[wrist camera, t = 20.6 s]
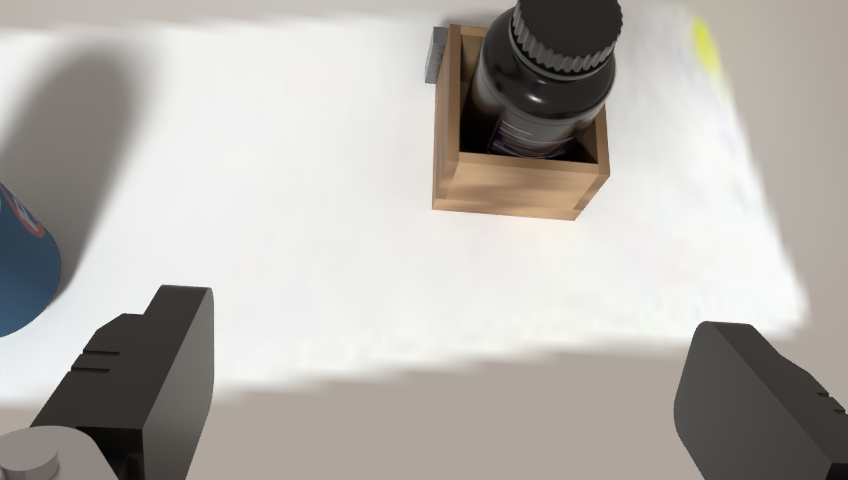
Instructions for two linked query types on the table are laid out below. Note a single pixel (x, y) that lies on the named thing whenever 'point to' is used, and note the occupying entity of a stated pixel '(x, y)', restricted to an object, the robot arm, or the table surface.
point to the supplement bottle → (541, 78)
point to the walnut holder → (503, 175)
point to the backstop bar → (435, 54)
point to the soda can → (24, 265)
